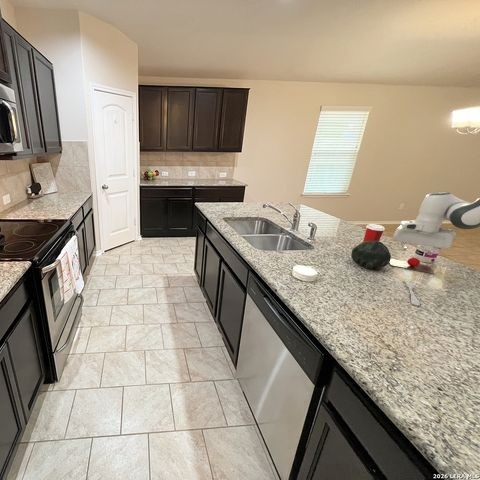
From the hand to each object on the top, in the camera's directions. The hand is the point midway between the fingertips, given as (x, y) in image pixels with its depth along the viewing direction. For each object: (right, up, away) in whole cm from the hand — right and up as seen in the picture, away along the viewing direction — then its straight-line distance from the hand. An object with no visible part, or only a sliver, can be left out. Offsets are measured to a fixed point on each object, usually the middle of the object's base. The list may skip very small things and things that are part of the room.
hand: (415, 252), depth 125 cm
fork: (-22, -16, -20) cm, 34 cm away
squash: (-22, -7, +3) cm, 23 cm away
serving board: (0, -7, +3) cm, 8 cm away
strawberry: (+1, -5, +2) cm, 5 cm away
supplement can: (+14, -5, +10) cm, 18 cm away
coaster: (-60, -11, -8) cm, 62 cm away
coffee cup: (-6, 0, +22) cm, 22 cm away
